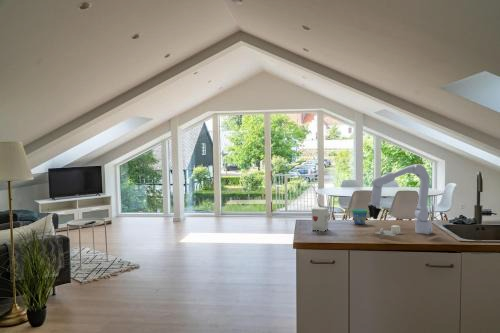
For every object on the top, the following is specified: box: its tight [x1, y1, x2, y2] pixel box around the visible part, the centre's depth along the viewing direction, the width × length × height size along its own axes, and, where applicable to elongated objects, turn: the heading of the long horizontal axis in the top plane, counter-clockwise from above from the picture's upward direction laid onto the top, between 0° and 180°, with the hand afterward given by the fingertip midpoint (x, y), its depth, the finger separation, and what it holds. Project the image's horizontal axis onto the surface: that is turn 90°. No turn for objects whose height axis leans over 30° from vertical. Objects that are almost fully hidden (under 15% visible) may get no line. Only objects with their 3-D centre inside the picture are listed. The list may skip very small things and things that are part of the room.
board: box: [375, 228, 403, 237], centre depth 266 cm, size 13×13×4 cm
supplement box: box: [311, 206, 329, 232], centre depth 287 cm, size 9×9×15 cm
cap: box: [390, 225, 401, 235], centre depth 266 cm, size 5×5×4 cm
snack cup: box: [348, 208, 372, 225], centre depth 309 cm, size 16×10×10 cm
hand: (373, 217), depth 269 cm, fingers open, 7 cm apart
